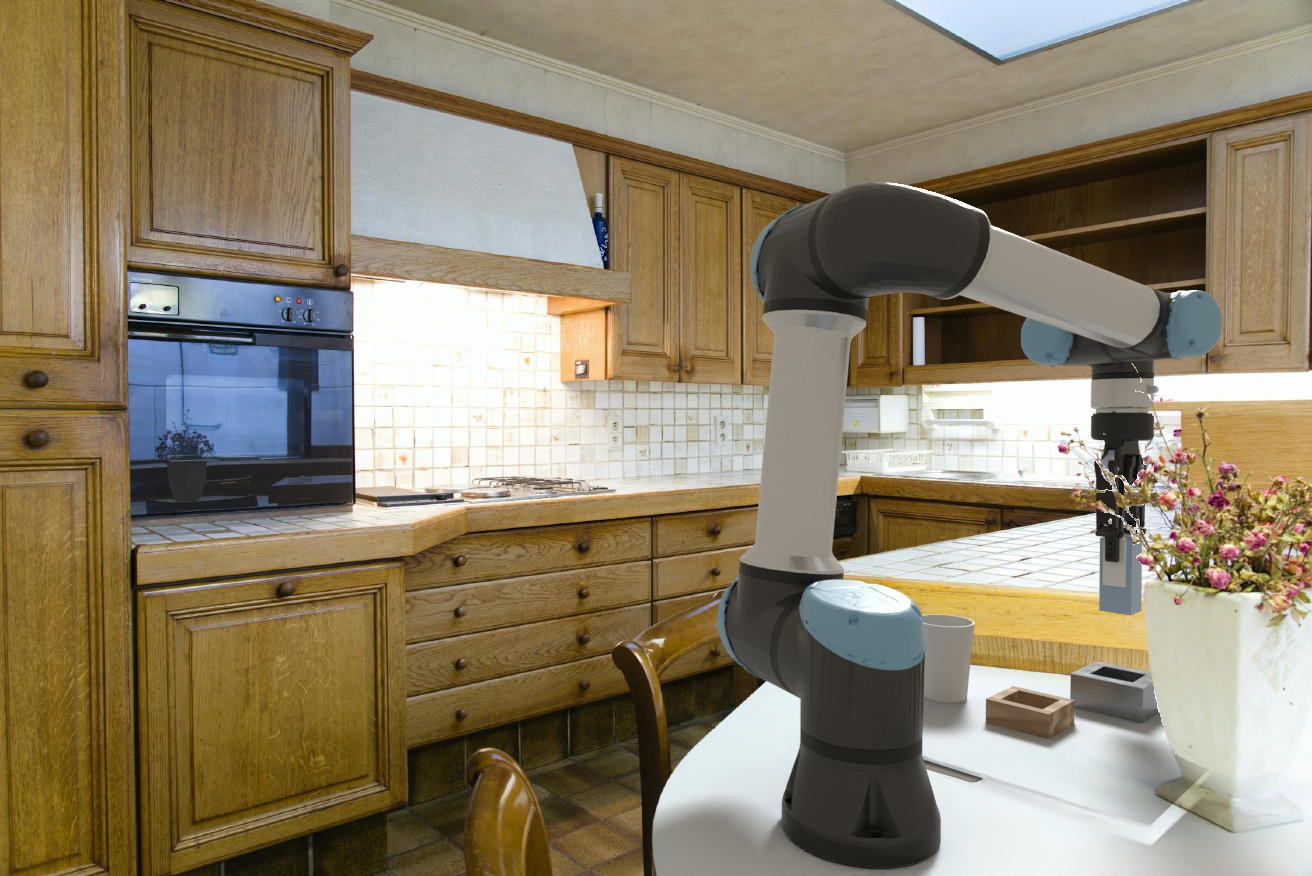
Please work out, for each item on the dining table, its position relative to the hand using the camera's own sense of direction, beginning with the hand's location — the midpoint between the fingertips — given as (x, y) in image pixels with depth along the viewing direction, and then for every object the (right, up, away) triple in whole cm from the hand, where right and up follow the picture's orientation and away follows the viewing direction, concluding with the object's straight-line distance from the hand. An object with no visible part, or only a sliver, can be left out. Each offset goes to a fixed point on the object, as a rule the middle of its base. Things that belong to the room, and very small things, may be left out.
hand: (1120, 583), depth 117 cm
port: (0, -17, 0) cm, 17 cm away
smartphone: (-31, -19, -14) cm, 39 cm away
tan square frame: (-15, -17, -6) cm, 24 cm away
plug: (0, -4, 0) cm, 4 cm away
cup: (-23, -18, +5) cm, 29 cm away
